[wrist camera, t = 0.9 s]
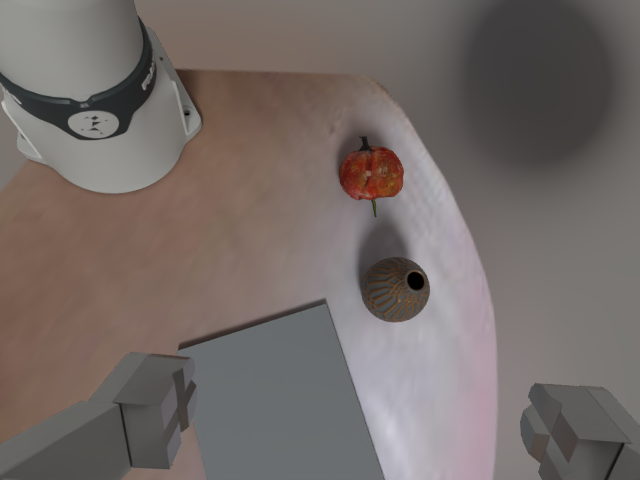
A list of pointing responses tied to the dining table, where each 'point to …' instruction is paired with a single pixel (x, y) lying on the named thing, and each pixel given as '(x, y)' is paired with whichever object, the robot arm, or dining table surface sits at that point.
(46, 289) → the dining table surface
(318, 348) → the mat
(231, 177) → the dining table surface
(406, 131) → the dining table surface
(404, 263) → the vase
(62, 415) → the robot arm
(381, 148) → the pomegranate
